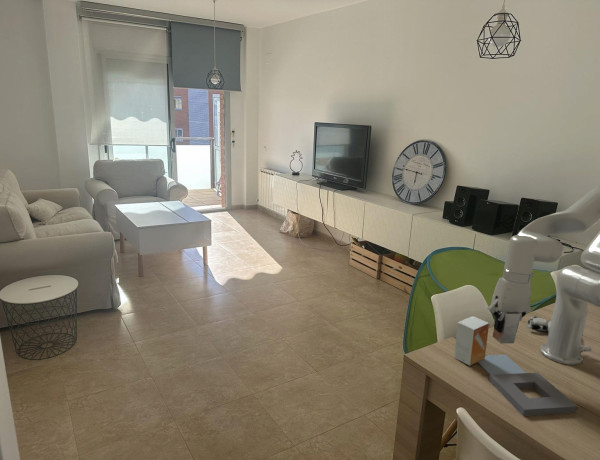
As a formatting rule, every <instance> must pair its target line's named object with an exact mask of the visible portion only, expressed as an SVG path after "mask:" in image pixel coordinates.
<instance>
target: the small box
mask: <svg viewBox="0 0 600 460" xmlns="http://www.w3.org/2000/svg"><path fill="white" fill-rule="evenodd" d="M456 326H457V327H456V335H455V346H454V347H455V348H454V354H453V355H454V358H455V359H456V360H458V361H460V362H461V363H464V364H466V365H468V366H472V365H474V364H477V363H478V361H480V360H482V359H484V358H485V356H486V353H487V351H486V350H487V345H488V343H487V342H488V335H489V327H490V323H489V322H488V321H485V320H483V319H480V318H478V317H476V316H473V315H472V316H470V317H467V318H464V319H462V320H460V321H458V322H457V324H456Z"/></svg>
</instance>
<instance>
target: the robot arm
mask: <svg viewBox="0 0 600 460" xmlns="http://www.w3.org/2000/svg"><path fill="white" fill-rule="evenodd" d="M598 222H600V186H597V187H594V188H592V189H591V190H590V191H589V192H587V193H586V194H584V195H583V196H582V197H580V198H579V199H578V200H577V201H575V202H574V203H573V204H572V205H570V207H568V208H567V209H565V210H562V211H558V212H555V213H551V214H548V215H545V216H542V217H538V218H537V219H534V220H532V221H531V222H530V223H528V224H527V225H525V226H524V227H523V228H522V229H521V230H519V231H518V233H517V234H516V235H513V236H511V237H510V239H509V242H508V245H507V246H508V248H507V253H506V256H505V261H504V266H503V267H504V268H503V273H502V277H499V278H498V280H497V283H496V285H495V288H494V291H493V295H492V298H491V304H490V305H489V306H488V307H487V311H488V312H490V313H491V314H492V315H493V317H494V323H493V330H494V329H495V330H496V331H498V332H499V333H501V332H502V327H503V322H504V321H502V320H503V317H504V315H505V313H506V312H518V313H520V318H519V323H520V321H522V320H523V318H524V317H525V316H526V315H527V314H529V313H530V312H532V308H531V305H530V301H531V294H532V283H531V278H533V277H534V273H533V268H534V264H535V262H541V263H547V264H549V263H550V264H551V263H555V262H557V261H559V260H560V259H562V257H563V256H564V253H565V248H564V245H563V244H562V242H561V241H559V240H558V239H556V238H553V237H550V236H553V235H562V234H563V235H565V234H567V235H568V234H569V235H570V234H581V233H586V232H587V231H588V230H590V229H591V228H592V227H594V225H596V224H597V223H598ZM580 262H581V263H582V265H583V266H585V267H586V268H584V267H581V266H577V265H567V266H564V267H562V268H561V269H560V270H559V271H558V274H557V276H556V297H555V303H554V307H553V312H552V315H551V319H550V321H551V325H550V330H549V332H548V334H547V340H546V342H544V343H541V345H540V346H539V348H540V349H539V350H540V352H541V354H543V356H545V357H546V358H548V359H550V360H551V361H555V362H556V363H560V364H565V365H573V366H574V365H575V366H576V365H580V364H581V363H582V362H583V359H584V358H583V356H582V353H584V352H591V351H592V347H591V346H590V345H583V344H582V340H583V335H584V330H585V327H586V322H587V319H588V316H589V315H588V313H589V306H588V303H589V304H591V305H593V306H596V307H598V308H600V230H599V231H598V232H597V233H596V235H595V236H594V237H593V238H592V240H590V242H589V243H588V245H587V246H586V247H585V248H584V250H583V251H582V253H581V255H580ZM587 268H588V269H587ZM590 269H591V270H590ZM592 270H593V271H592ZM595 271H596V272H595ZM500 312H501V313H500ZM499 314H500V315H499ZM519 323H518V327H517V330H518V328H519ZM517 333H518V331H517V332H516V334H517Z"/></svg>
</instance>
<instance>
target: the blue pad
mask: <svg viewBox="0 0 600 460" xmlns="http://www.w3.org/2000/svg"><path fill="white" fill-rule="evenodd" d="M477 363H478V364H479V365H480V366H481V367H482V368H483V370H484V371H485V372H486V373H488V375H489V376H490V375H497V374H517V373H527V372H526V371H525V370H524V369H523V368H521V367H520V366H519V365H518V364H517V363H516V362H515V361H513V359H511V358H510V357H509V356H508V355H507V354H493V355H492V354H490V355H489V354H488V355H486V354H485V358H484V359H482V360H480V361H478V362H477Z"/></svg>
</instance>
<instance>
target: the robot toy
mask: <svg viewBox="0 0 600 460" xmlns="http://www.w3.org/2000/svg"><path fill="white" fill-rule="evenodd" d="M527 323H528V324H527V325H526V327H527V329H529V330H530V329H531V330H532V331H533V330H534V331H539V332H541V331H544V332H546V331H547V332H548V333H549V330H550V325H551V320H550V321H549V320H548V319H545V318H541V317H538V316H536V315H535V316H530V317H529V320H528V321H527Z"/></svg>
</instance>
